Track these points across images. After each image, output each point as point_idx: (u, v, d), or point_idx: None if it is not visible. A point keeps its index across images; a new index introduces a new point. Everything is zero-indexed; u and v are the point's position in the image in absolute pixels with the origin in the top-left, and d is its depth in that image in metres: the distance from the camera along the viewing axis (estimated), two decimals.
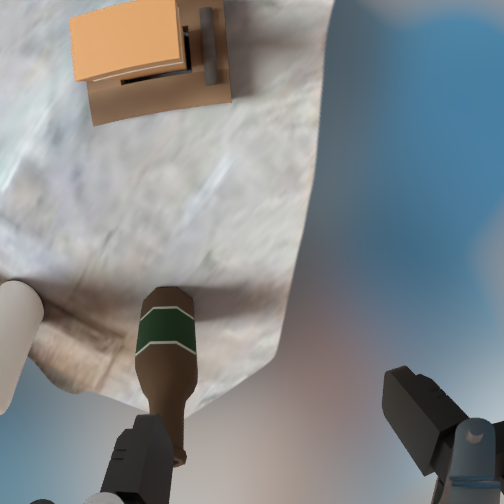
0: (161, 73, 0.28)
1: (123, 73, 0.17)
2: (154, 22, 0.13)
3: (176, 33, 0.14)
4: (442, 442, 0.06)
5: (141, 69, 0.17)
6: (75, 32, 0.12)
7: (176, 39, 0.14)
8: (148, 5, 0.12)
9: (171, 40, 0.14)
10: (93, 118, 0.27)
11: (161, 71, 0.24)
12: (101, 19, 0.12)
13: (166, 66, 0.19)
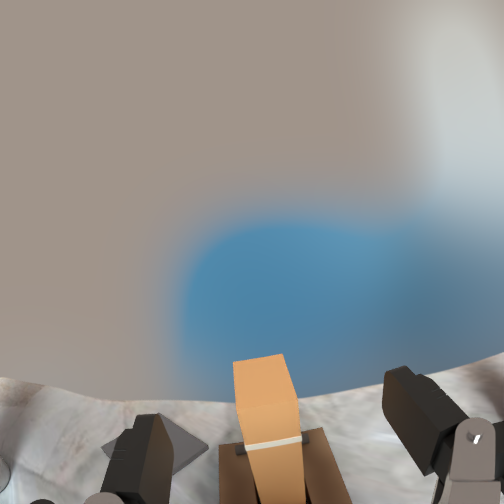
0: None
1: None
2: (254, 366, 0.24)
3: (264, 357, 0.25)
4: (442, 441, 0.06)
5: None
6: (251, 404, 0.19)
7: (268, 356, 0.25)
8: (240, 370, 0.23)
9: (269, 358, 0.24)
10: None
11: None
12: (244, 391, 0.21)
13: None
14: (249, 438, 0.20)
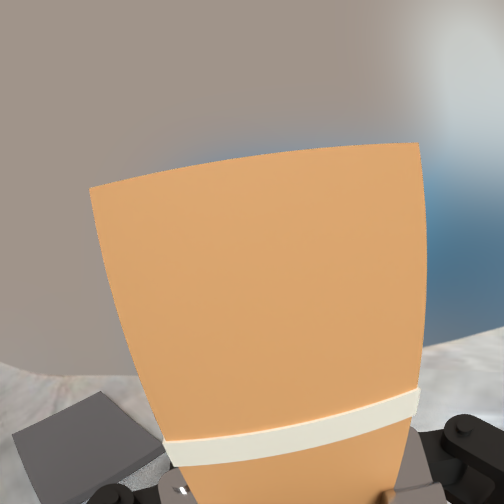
0: None
1: None
2: None
3: None
4: None
5: None
6: None
7: None
8: None
9: None
10: None
11: None
12: None
13: None
14: (178, 405, 0.04)
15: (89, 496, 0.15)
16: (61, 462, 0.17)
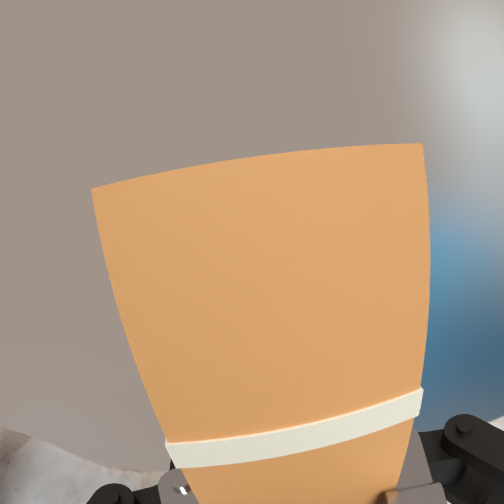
0: None
1: None
2: None
3: None
4: None
5: None
6: None
7: None
8: None
9: None
10: None
11: None
12: None
13: None
14: (181, 407, 0.04)
15: None
16: None
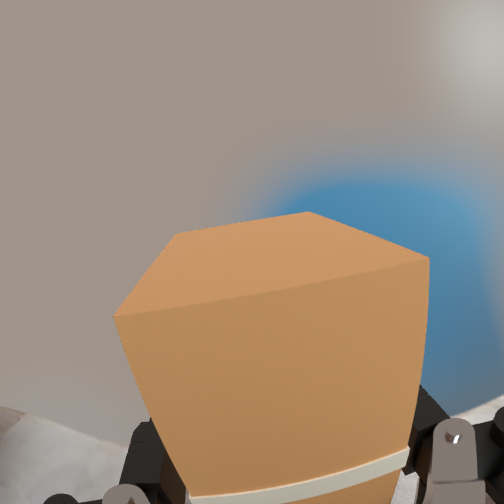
0: None
1: None
2: (231, 230, 0.08)
3: (260, 220, 0.09)
4: (421, 441, 0.07)
5: None
6: (196, 294, 0.04)
7: (273, 217, 0.09)
8: (187, 238, 0.08)
9: (275, 218, 0.09)
10: None
11: None
12: (183, 265, 0.05)
13: None
14: (203, 474, 0.04)
15: None
16: None
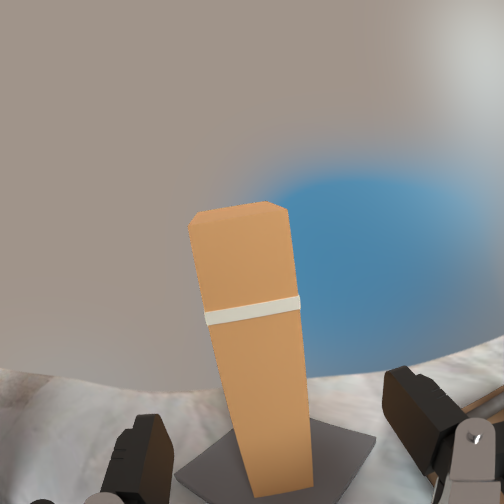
0: None
1: None
2: (225, 209, 0.17)
3: (241, 205, 0.18)
4: (441, 441, 0.06)
5: None
6: (212, 220, 0.13)
7: None
8: (205, 212, 0.17)
9: (247, 204, 0.18)
10: None
11: None
12: (206, 217, 0.14)
13: None
14: (211, 295, 0.13)
15: None
16: None
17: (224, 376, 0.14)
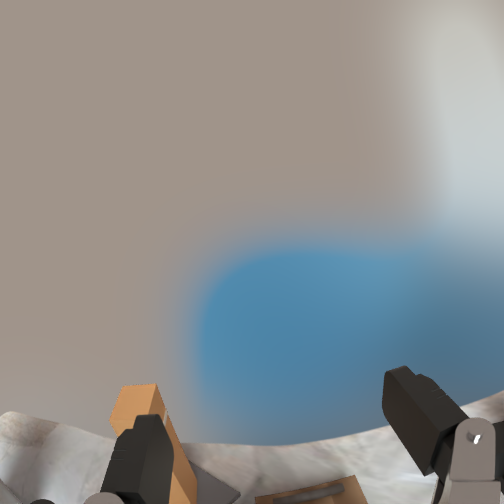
0: (193, 488, 0.32)
1: None
2: (133, 391, 0.30)
3: (143, 385, 0.31)
4: (442, 442, 0.06)
5: None
6: (118, 418, 0.25)
7: None
8: (123, 393, 0.29)
9: (146, 386, 0.31)
10: None
11: (184, 467, 0.32)
12: (119, 408, 0.27)
13: (170, 429, 0.31)
14: None
15: None
16: None
17: None
